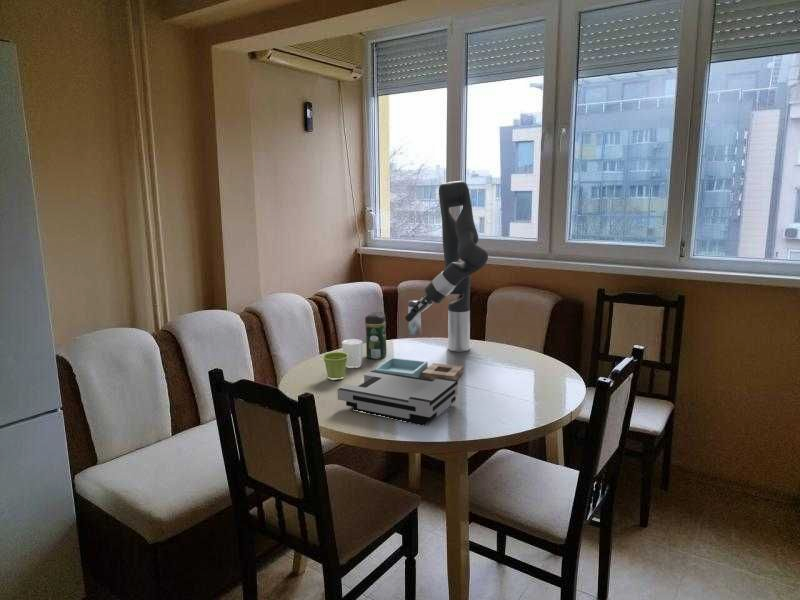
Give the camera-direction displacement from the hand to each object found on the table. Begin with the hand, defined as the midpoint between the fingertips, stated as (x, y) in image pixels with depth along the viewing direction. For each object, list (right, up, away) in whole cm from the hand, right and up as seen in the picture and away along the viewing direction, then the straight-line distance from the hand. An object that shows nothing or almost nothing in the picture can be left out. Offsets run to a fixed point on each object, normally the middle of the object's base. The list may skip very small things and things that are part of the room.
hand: (409, 318), depth 200 cm
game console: (-4, -28, -25) cm, 38 cm away
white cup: (-22, -20, +17) cm, 34 cm away
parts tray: (-3, -22, +4) cm, 22 cm away
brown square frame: (+12, -21, +3) cm, 25 cm away
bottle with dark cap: (+2, -6, 0) cm, 6 cm away
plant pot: (-27, -23, +3) cm, 35 cm away
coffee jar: (-13, -17, +29) cm, 36 cm away
